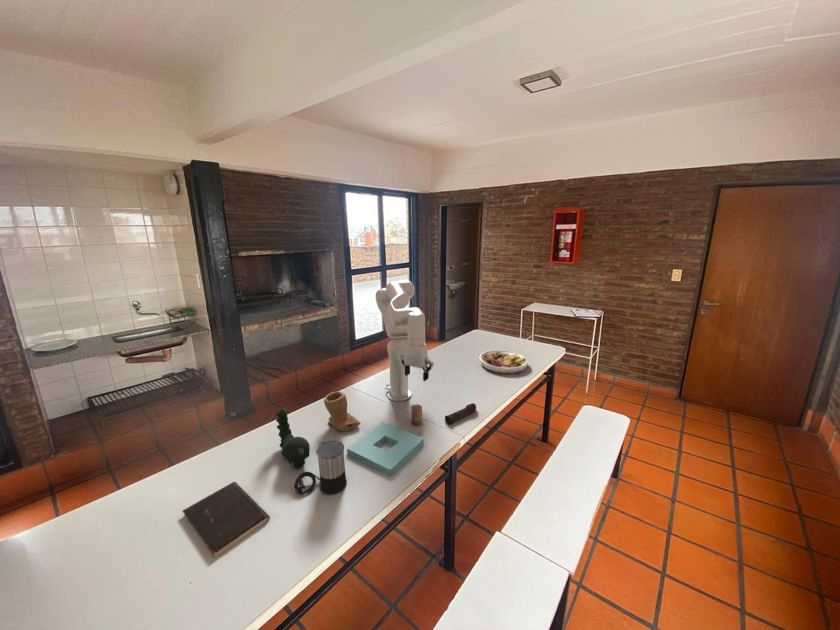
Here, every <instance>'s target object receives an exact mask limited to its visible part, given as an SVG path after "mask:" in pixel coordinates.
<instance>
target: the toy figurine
mask: <svg viewBox="0 0 840 630" xmlns="http://www.w3.org/2000/svg"><path fill="white" fill-rule="evenodd" d="M275 415H276V416H277V418H276V420H275V421H276V423H278V425H277V426H276V429H277V430H279V432H278V434H277V435H278V437H280V443H279V447H280V448H281V450H282V451H281V455H282V456H283V459H284V461H286V462H288V464H289V465H292V466H293V468H295V469H300V468H303V466H305V463H306V459H307V458H309V457H310V451H311V446H310V443H309V441H308V440H307V438H304V437H301V436H295V437H294V435H293V434H292V430H291V428H290V427H291V426H290V425H291V424H290V423H289V422H288V421H289V418H288V411H287V408H283V407H282V408H280V409H279V410H278V412H276V413H275Z"/></svg>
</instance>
